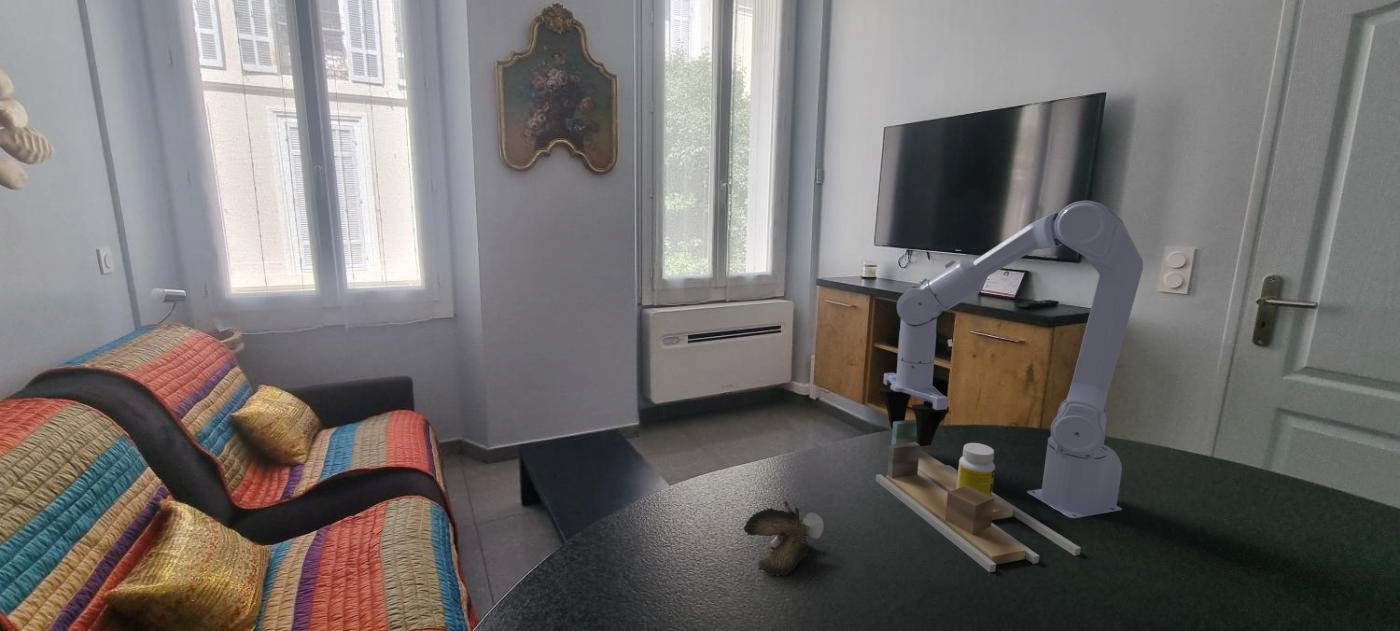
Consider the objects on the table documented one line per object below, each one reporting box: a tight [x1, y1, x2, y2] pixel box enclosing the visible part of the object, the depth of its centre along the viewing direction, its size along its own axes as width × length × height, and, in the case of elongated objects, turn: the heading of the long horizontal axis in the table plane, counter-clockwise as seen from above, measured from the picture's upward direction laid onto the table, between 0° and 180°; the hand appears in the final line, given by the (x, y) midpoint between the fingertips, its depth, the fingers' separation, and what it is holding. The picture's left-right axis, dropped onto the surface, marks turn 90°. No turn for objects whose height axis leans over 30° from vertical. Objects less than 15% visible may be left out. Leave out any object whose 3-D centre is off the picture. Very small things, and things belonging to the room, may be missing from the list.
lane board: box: [875, 465, 1081, 573], centre depth 81 cm, size 14×24×2 cm, turn 16°
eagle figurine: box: [743, 499, 825, 577], centre depth 71 cm, size 8×7×9 cm
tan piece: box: [890, 418, 1014, 521], centre depth 89 cm, size 5×22×6 cm, turn 16°
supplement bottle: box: [956, 442, 996, 497], centre depth 83 cm, size 5×5×8 cm
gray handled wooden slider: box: [885, 442, 1026, 565], centre depth 79 cm, size 5×22×6 cm, turn 16°
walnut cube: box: [945, 485, 994, 535], centre depth 76 cm, size 4×4×4 cm
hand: (909, 436), depth 98 cm, fingers open, 7 cm apart
